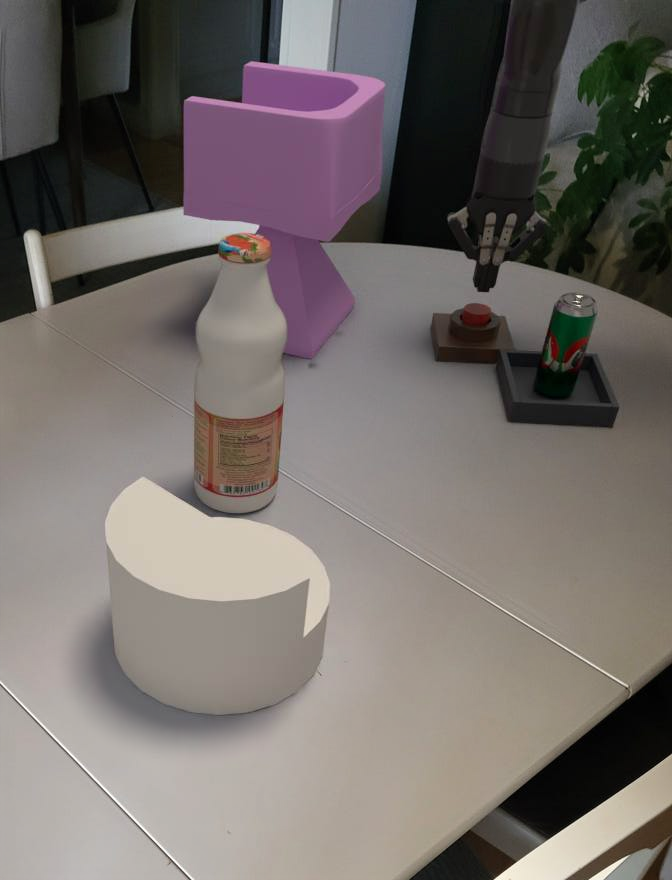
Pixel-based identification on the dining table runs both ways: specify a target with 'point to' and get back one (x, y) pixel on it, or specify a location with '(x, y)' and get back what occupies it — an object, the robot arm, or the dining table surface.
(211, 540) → the notched white cylinder
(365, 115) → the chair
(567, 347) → the soda can
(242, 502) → the fruit juice
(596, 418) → the tray
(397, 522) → the dining table surface
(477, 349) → the block
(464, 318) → the button
